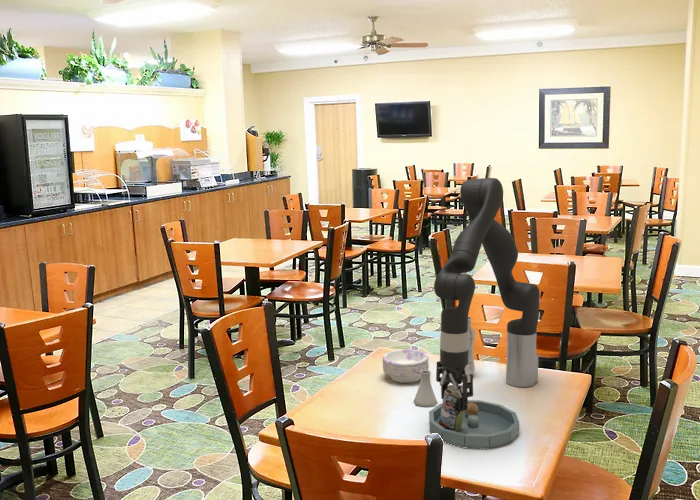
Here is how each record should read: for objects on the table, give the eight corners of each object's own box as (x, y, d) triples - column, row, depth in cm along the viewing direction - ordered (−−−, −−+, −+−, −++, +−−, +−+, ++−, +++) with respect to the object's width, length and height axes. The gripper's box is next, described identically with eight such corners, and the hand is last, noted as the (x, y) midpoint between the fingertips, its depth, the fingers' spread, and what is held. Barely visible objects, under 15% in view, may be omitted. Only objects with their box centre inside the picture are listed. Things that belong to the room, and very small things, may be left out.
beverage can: (436, 424, 187) (437, 383, 185) (462, 423, 188) (463, 382, 186) (441, 434, 181) (442, 392, 179) (468, 433, 182) (469, 390, 180)
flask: (436, 408, 201) (436, 376, 199) (412, 406, 203) (412, 375, 201) (438, 399, 208) (438, 368, 206) (414, 397, 210) (414, 366, 208)
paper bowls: (374, 381, 224) (374, 358, 222) (396, 367, 237) (395, 346, 235) (416, 389, 216) (416, 366, 215) (436, 375, 229) (436, 352, 227)
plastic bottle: (477, 373, 229) (477, 316, 226) (471, 379, 223) (472, 321, 220) (458, 370, 232) (458, 314, 229) (452, 377, 226) (453, 319, 223)
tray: (483, 405, 202) (483, 394, 202) (536, 437, 181) (536, 424, 180) (413, 421, 192) (413, 409, 192) (461, 456, 171) (461, 443, 170)
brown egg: (472, 412, 195) (473, 399, 194) (481, 417, 191) (481, 404, 191) (461, 415, 193) (461, 401, 193) (469, 420, 190) (469, 406, 189)
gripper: (481, 352, 175) (481, 411, 178) (451, 337, 188) (451, 393, 190) (457, 356, 172) (457, 416, 175) (428, 341, 185) (428, 398, 187)
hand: (454, 404), depth 182 cm, fingers open, 8 cm apart
